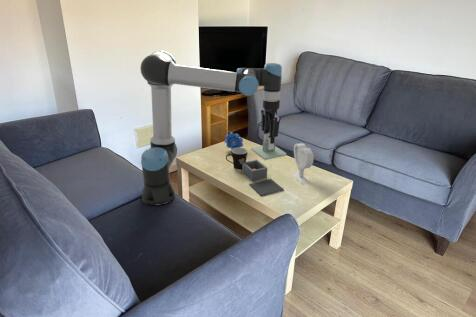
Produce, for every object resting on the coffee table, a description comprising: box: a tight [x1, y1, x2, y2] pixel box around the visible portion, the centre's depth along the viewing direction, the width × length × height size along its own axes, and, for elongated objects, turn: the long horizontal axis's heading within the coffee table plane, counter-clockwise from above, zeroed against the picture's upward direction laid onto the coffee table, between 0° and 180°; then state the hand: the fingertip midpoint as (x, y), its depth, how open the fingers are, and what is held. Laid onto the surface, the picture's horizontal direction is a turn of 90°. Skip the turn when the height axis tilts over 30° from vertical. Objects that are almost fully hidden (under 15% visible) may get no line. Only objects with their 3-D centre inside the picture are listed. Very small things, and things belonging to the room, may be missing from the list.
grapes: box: [223, 132, 244, 151], centre depth 209 cm, size 12×7×12 cm, turn 92°
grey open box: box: [241, 159, 268, 183], centre depth 182 cm, size 9×11×6 cm
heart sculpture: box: [291, 143, 315, 185], centre depth 178 cm, size 16×5×18 cm, turn 16°
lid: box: [250, 139, 287, 161], centre depth 162 cm, size 12×13×6 cm
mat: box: [248, 178, 285, 197], centre depth 172 cm, size 13×12×1 cm
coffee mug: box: [225, 147, 248, 171], centre depth 190 cm, size 12×9×10 cm
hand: (268, 147), depth 163 cm, fingers closed on lid, 3 cm apart
